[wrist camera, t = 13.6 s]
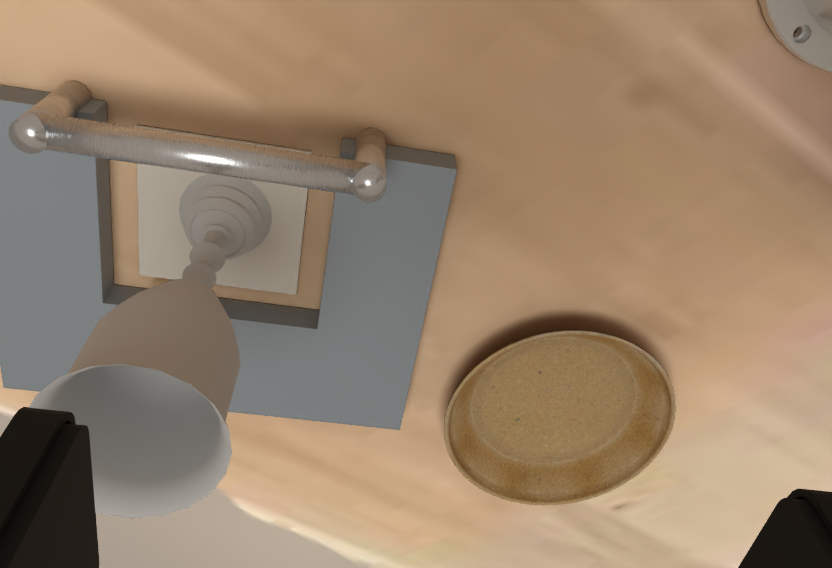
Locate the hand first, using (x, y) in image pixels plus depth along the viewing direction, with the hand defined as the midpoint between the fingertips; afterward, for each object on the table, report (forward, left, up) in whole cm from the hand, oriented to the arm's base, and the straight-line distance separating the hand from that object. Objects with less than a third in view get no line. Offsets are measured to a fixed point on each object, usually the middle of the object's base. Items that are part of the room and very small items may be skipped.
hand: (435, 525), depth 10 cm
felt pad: (+8, +11, -30) cm, 33 cm away
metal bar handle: (+8, +6, -30) cm, 32 cm away
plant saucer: (-14, +22, -31) cm, 40 cm away
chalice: (+8, +11, -30) cm, 33 cm away
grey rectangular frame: (+8, +15, -30) cm, 35 cm away
